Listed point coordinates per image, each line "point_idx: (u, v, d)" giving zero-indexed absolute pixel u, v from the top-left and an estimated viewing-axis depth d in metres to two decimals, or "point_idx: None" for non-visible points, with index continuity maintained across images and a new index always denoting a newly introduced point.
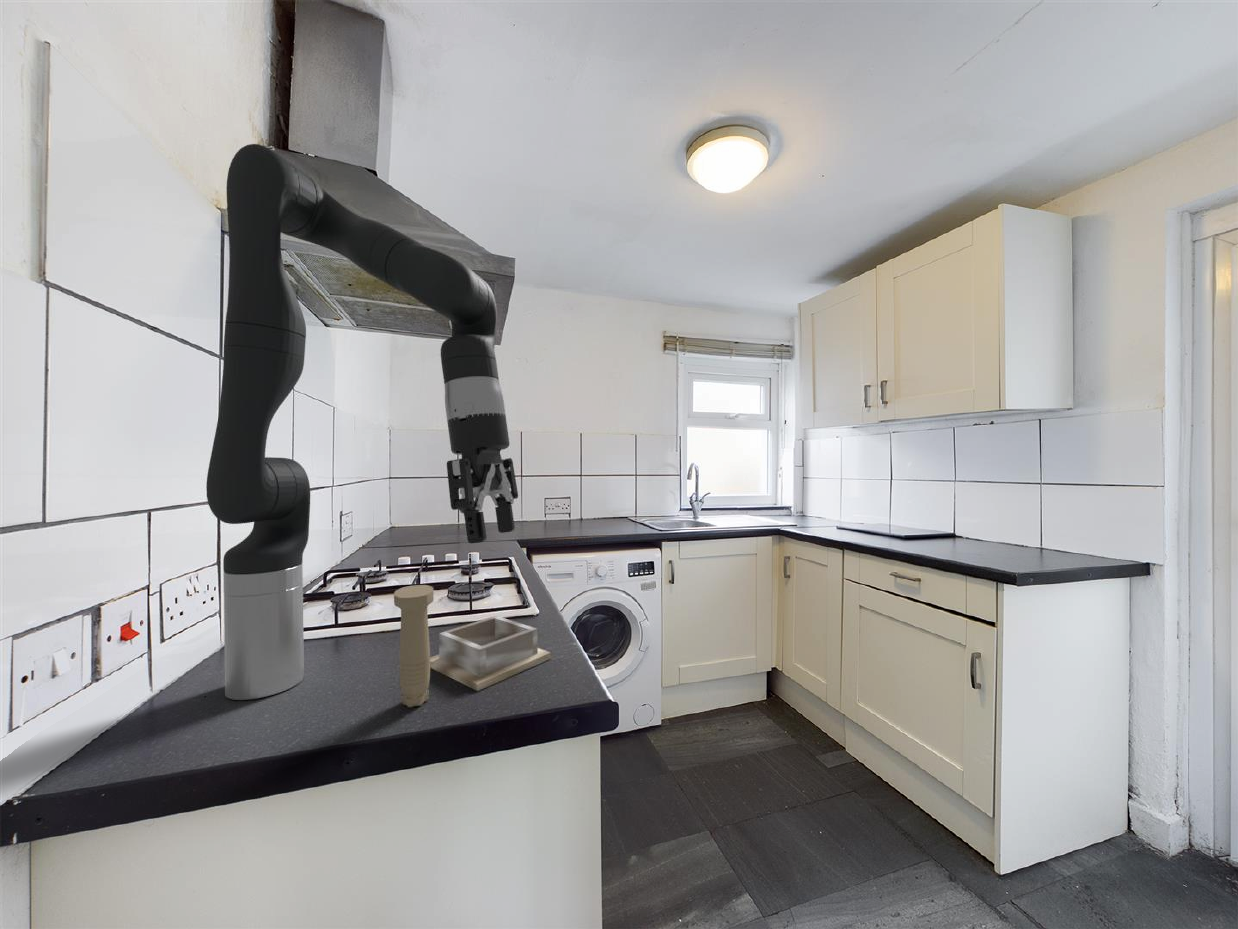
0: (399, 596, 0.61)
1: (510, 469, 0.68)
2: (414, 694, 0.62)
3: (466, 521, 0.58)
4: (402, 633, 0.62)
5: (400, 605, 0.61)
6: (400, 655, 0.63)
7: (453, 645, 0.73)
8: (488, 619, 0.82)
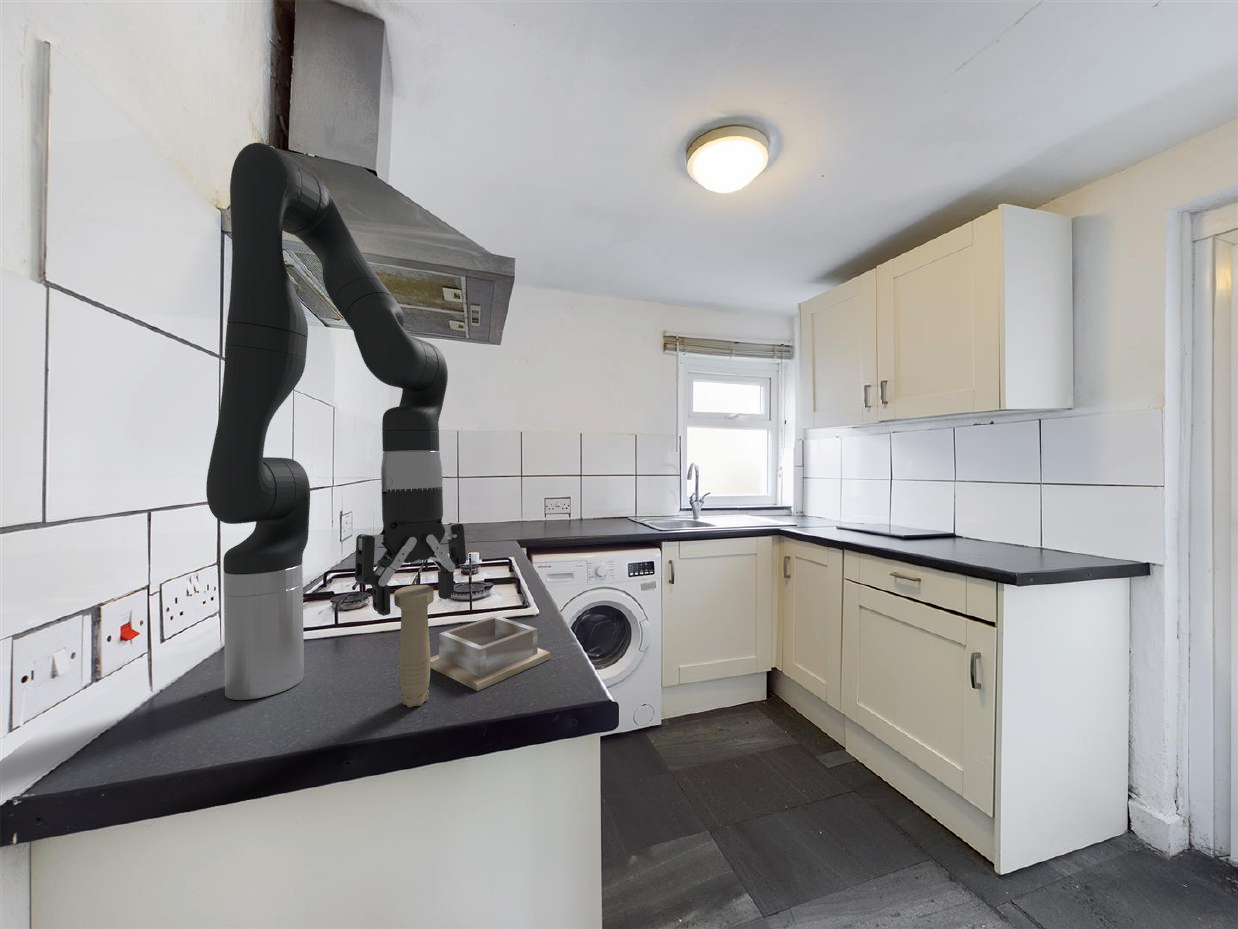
0: (399, 596, 0.61)
1: (456, 535, 0.67)
2: (414, 694, 0.62)
3: (372, 593, 0.60)
4: (402, 633, 0.62)
5: (400, 605, 0.61)
6: (400, 655, 0.63)
7: (453, 645, 0.73)
8: (488, 619, 0.82)
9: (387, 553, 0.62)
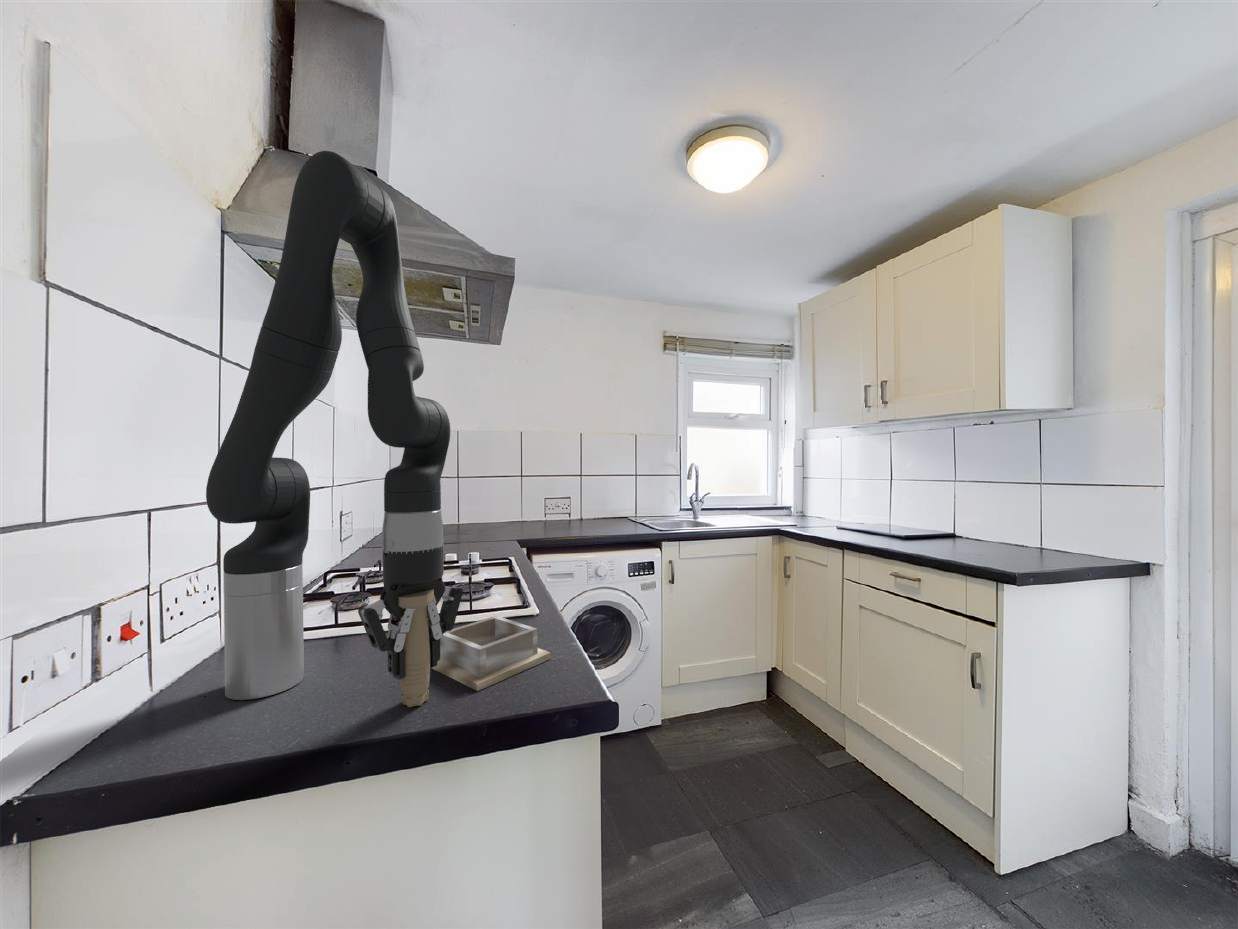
0: None
1: (453, 599, 0.67)
2: (414, 694, 0.62)
3: (388, 657, 0.62)
4: None
5: (400, 605, 0.61)
6: None
7: (453, 645, 0.73)
8: (488, 619, 0.82)
9: None
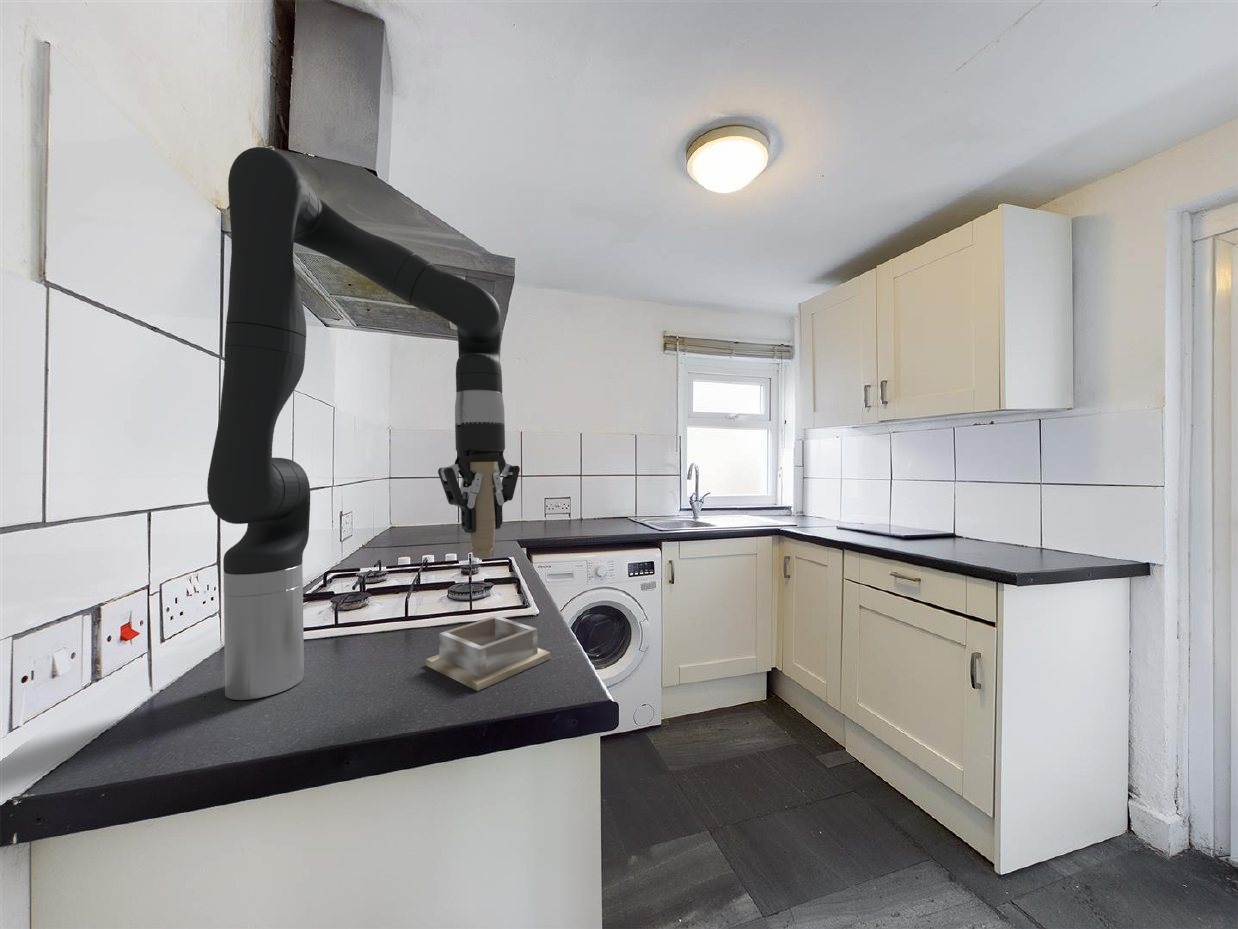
0: (471, 462, 0.72)
1: (512, 474, 0.78)
2: (483, 546, 0.73)
3: (461, 514, 0.73)
4: None
5: (472, 468, 0.72)
6: None
7: (453, 645, 0.73)
8: (488, 619, 0.82)
9: (464, 481, 0.74)
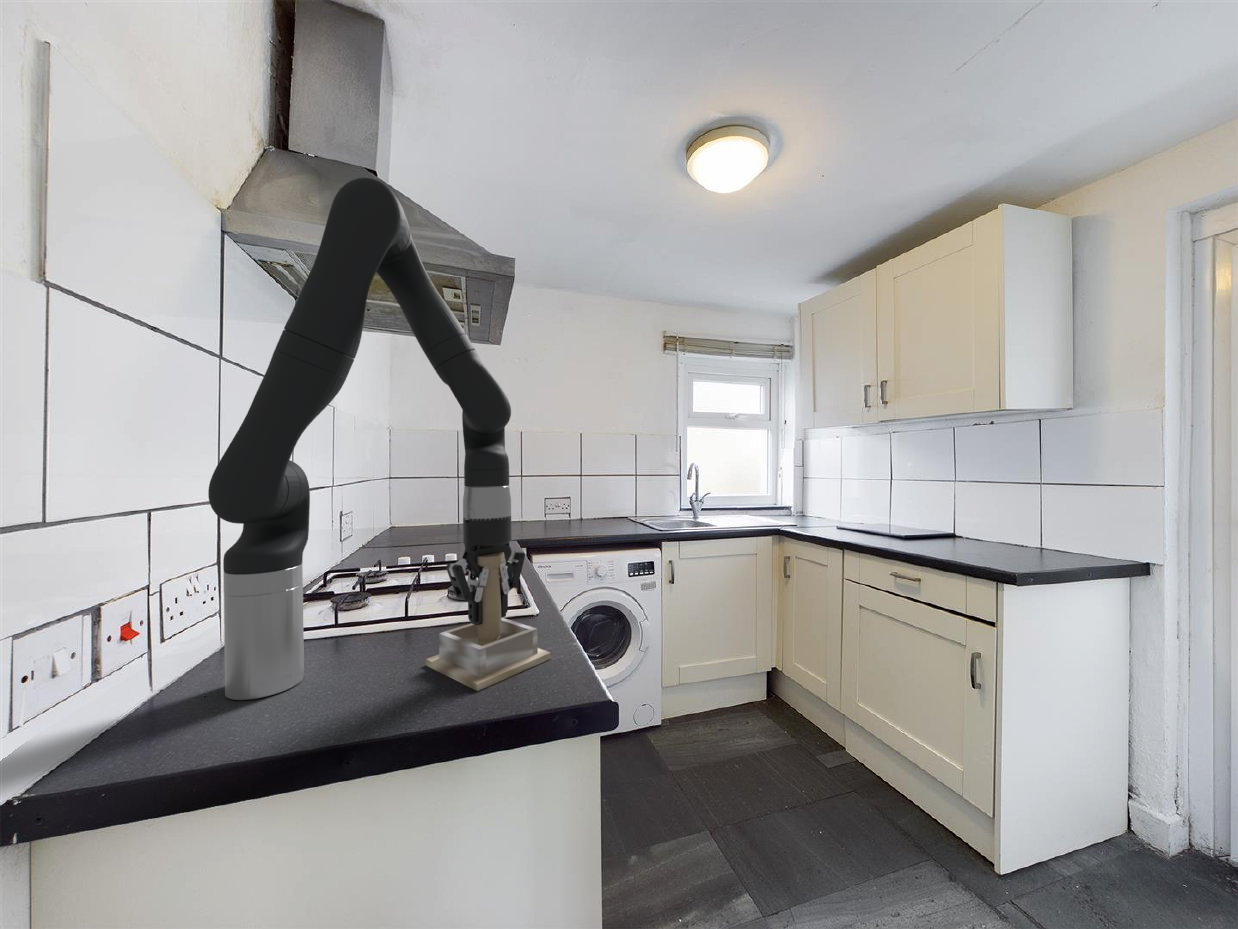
0: None
1: (518, 561, 0.80)
2: (490, 638, 0.75)
3: (468, 607, 0.74)
4: None
5: (480, 563, 0.73)
6: None
7: (453, 645, 0.73)
8: None
9: (471, 573, 0.76)
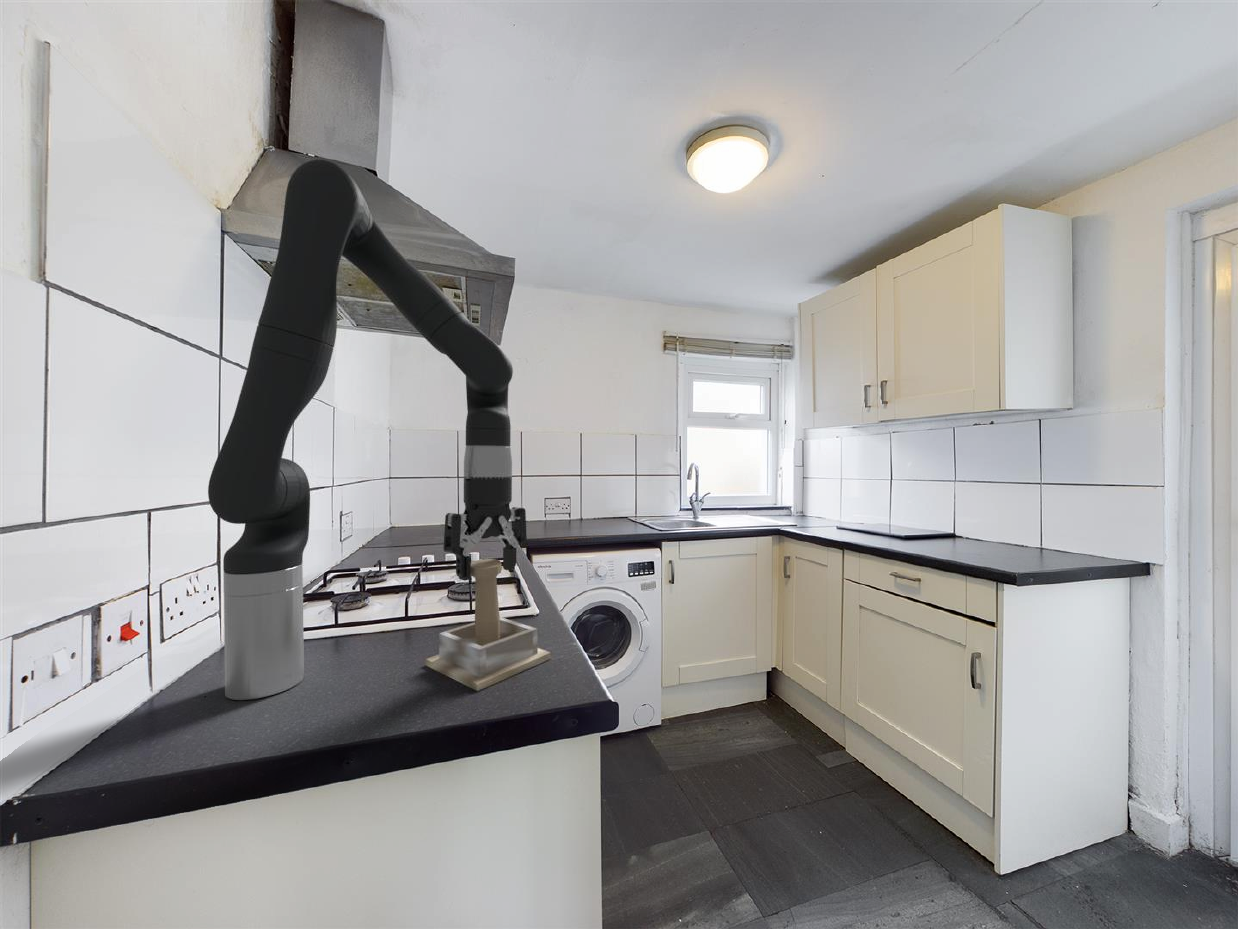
0: (475, 567, 0.73)
1: (520, 518, 0.81)
2: None
3: (456, 562, 0.73)
4: (477, 598, 0.75)
5: (477, 575, 0.73)
6: (476, 616, 0.75)
7: (453, 645, 0.73)
8: None
9: (467, 530, 0.75)
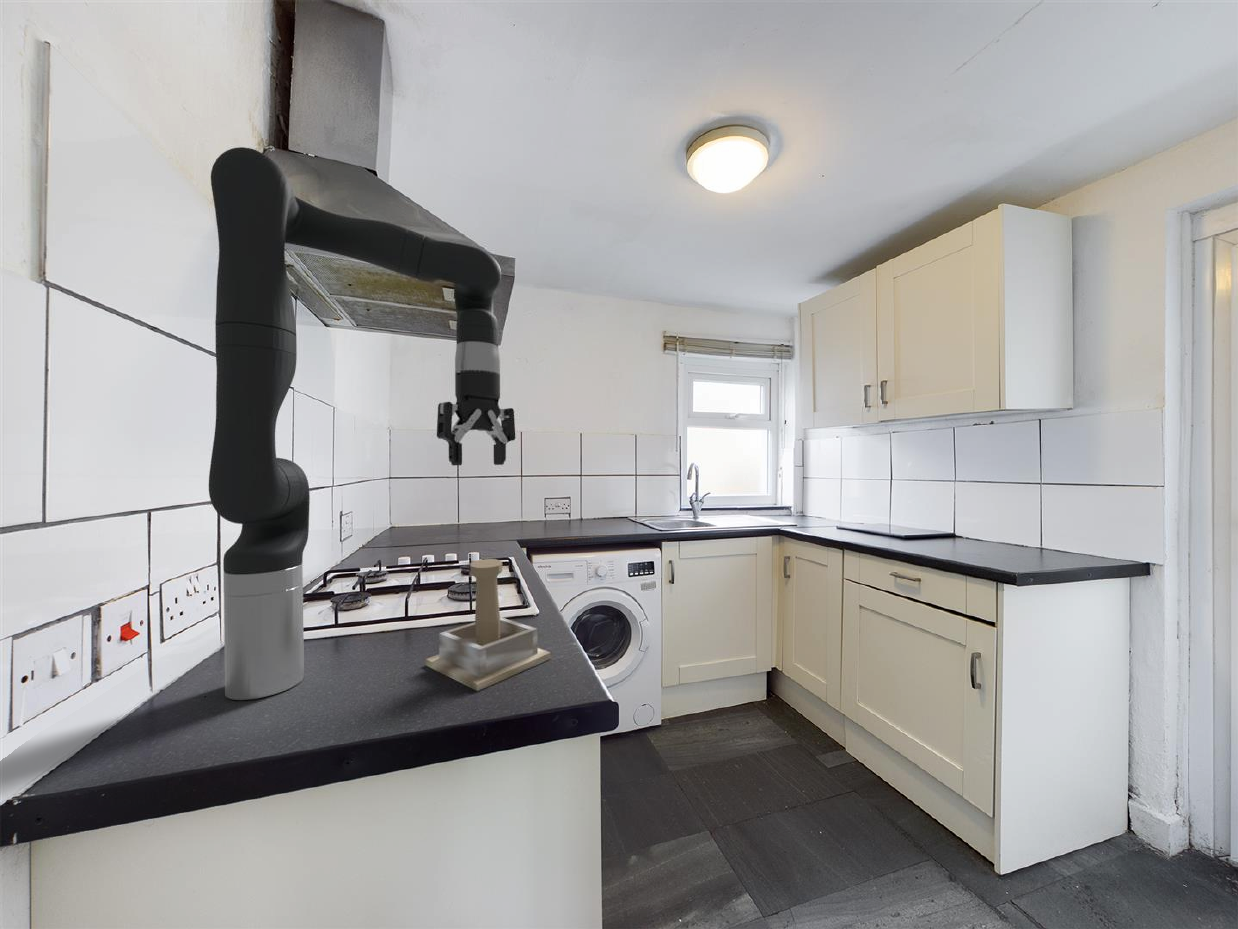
0: (476, 567, 0.74)
1: (508, 416, 0.86)
2: None
3: (449, 448, 0.79)
4: (478, 598, 0.75)
5: (477, 574, 0.73)
6: (476, 616, 0.75)
7: (453, 645, 0.73)
8: None
9: (458, 421, 0.81)
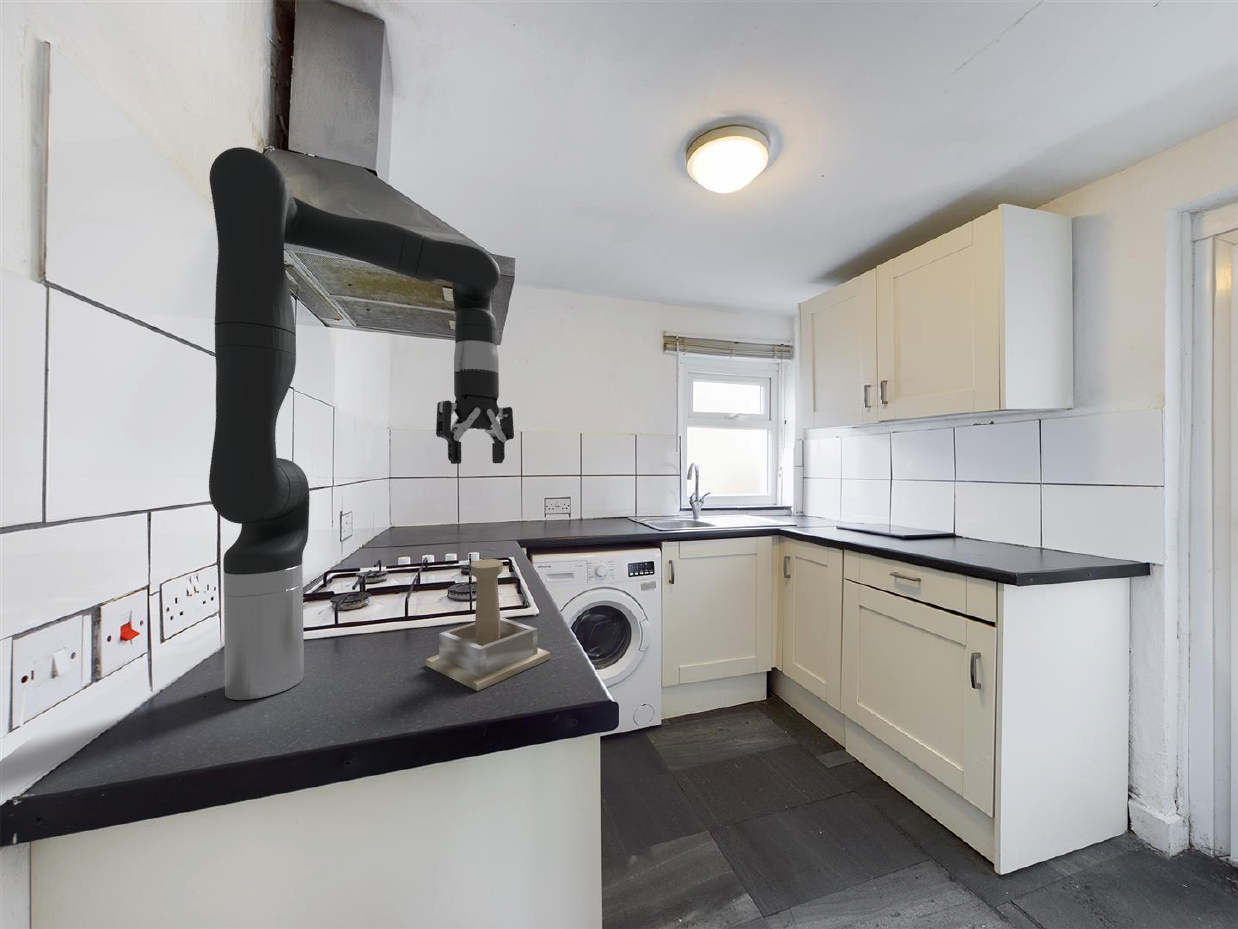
0: (476, 567, 0.74)
1: (507, 415, 0.87)
2: None
3: (448, 447, 0.79)
4: (478, 598, 0.75)
5: (478, 574, 0.73)
6: (477, 616, 0.75)
7: (453, 645, 0.73)
8: None
9: (457, 420, 0.82)
